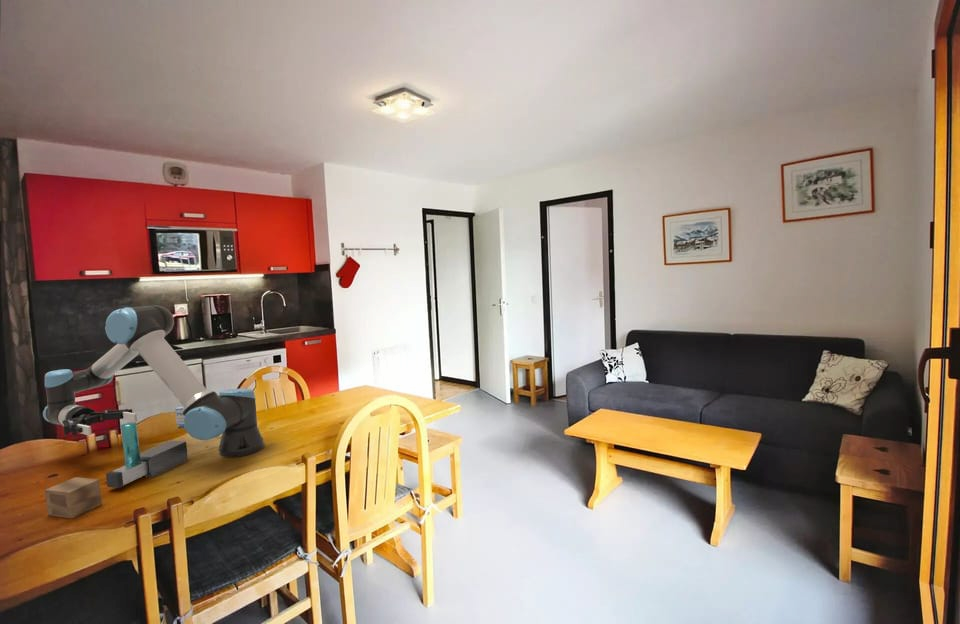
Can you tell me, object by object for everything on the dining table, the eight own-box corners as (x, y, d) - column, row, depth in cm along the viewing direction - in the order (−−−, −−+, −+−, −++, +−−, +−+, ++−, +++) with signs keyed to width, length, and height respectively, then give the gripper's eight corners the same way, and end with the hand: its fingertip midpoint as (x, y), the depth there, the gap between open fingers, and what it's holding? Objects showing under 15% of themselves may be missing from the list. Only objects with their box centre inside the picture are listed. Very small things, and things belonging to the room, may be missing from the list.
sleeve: (172, 459, 169) (170, 440, 168) (187, 460, 167) (186, 441, 167) (135, 476, 156) (133, 456, 155) (152, 477, 154) (149, 457, 153)
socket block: (78, 501, 139) (75, 477, 139) (101, 504, 137) (98, 479, 137) (48, 515, 132) (44, 489, 131) (72, 518, 130) (69, 492, 129)
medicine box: (176, 428, 203) (174, 408, 202) (181, 424, 208) (179, 405, 207) (196, 426, 205) (194, 407, 204) (200, 423, 209) (198, 404, 208)
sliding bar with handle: (172, 457, 168) (167, 408, 166) (182, 457, 167) (177, 409, 165) (107, 487, 145) (100, 431, 144) (118, 488, 144) (112, 432, 143)
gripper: (118, 416, 176) (153, 423, 167) (33, 439, 153) (69, 448, 145) (116, 397, 175) (151, 402, 167) (31, 417, 153) (67, 425, 144)
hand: (113, 424), depth 156 cm, fingers open, 13 cm apart
